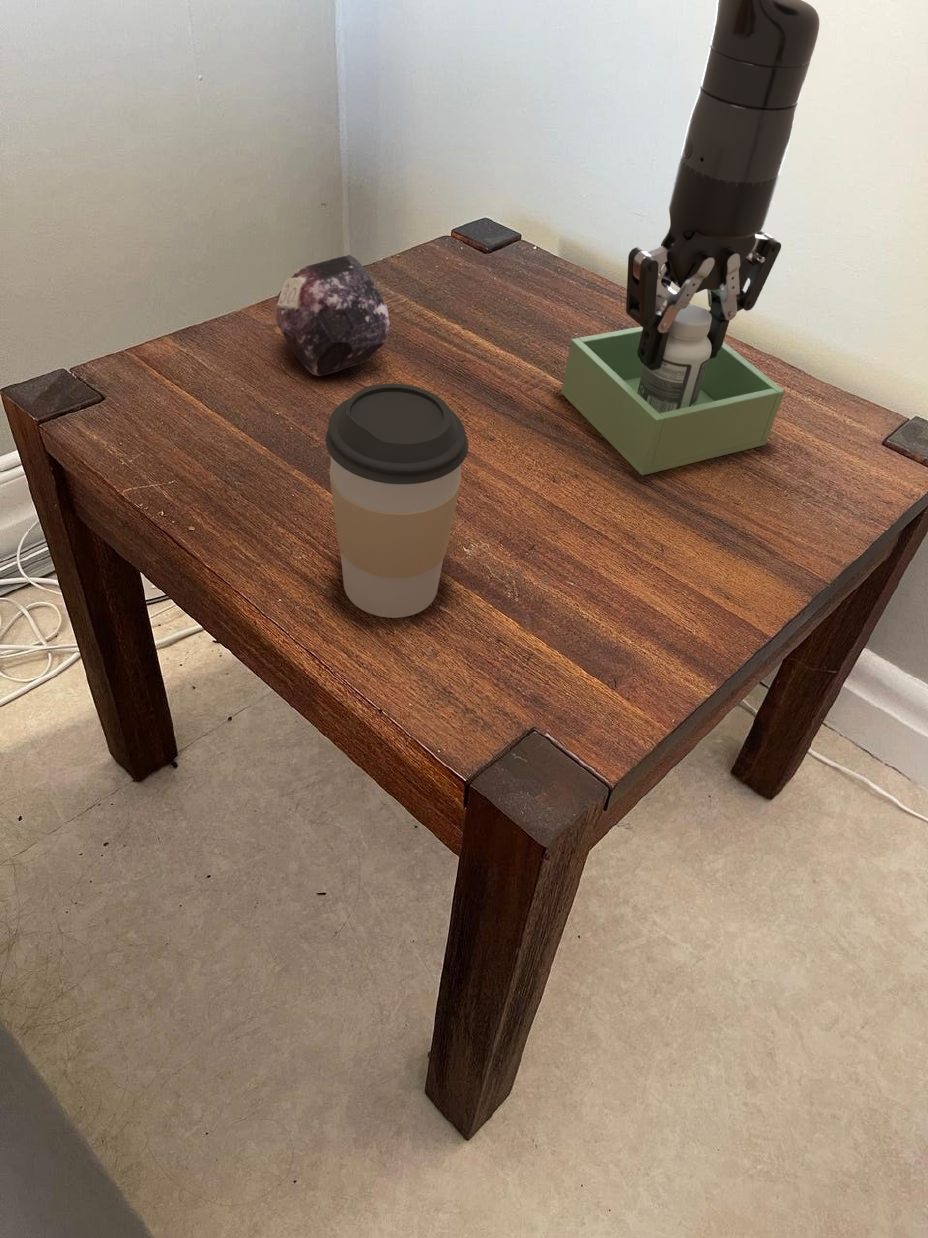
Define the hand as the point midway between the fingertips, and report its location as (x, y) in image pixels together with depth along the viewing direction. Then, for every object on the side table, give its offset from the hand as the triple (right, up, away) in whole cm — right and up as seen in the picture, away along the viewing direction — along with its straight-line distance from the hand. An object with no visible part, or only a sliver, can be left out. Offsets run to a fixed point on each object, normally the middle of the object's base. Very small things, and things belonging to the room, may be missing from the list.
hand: (677, 359), depth 85 cm
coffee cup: (-24, -20, -14) cm, 35 cm away
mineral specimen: (-31, +2, +7) cm, 32 cm away
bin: (0, -4, +4) cm, 6 cm away
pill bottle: (-1, -4, +4) cm, 6 cm away
